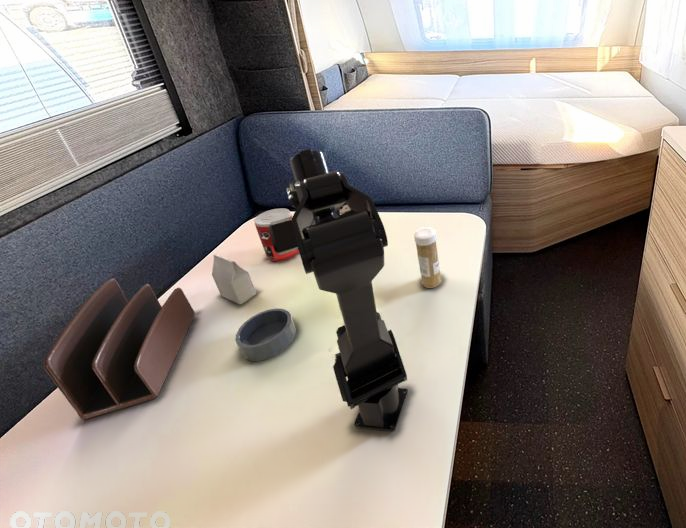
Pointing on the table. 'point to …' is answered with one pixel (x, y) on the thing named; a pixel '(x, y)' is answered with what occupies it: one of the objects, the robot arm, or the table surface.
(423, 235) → the sprinkles bottle
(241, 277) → the gable top box
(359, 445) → the table surface
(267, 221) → the canned food
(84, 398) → the letter holder
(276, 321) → the grey round dish
